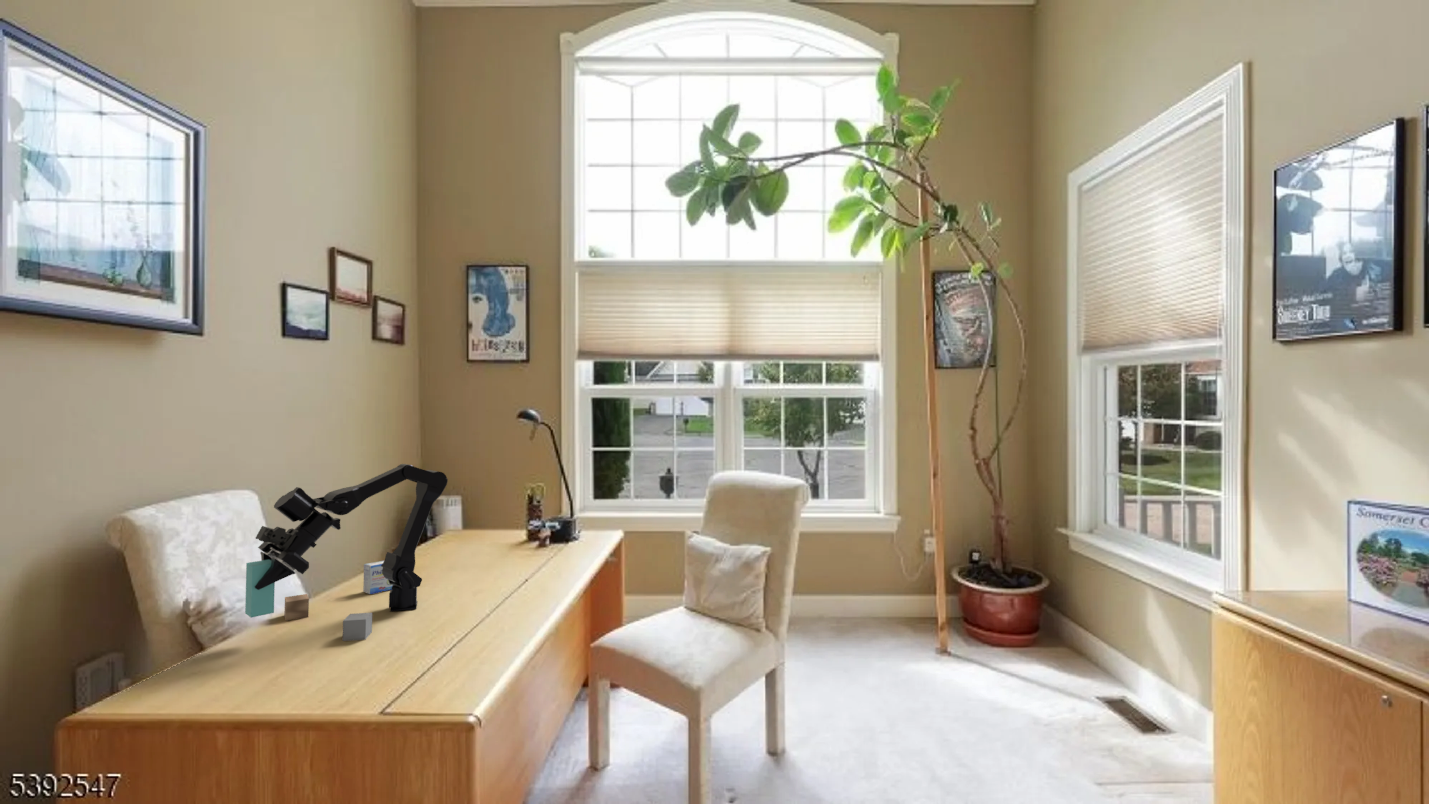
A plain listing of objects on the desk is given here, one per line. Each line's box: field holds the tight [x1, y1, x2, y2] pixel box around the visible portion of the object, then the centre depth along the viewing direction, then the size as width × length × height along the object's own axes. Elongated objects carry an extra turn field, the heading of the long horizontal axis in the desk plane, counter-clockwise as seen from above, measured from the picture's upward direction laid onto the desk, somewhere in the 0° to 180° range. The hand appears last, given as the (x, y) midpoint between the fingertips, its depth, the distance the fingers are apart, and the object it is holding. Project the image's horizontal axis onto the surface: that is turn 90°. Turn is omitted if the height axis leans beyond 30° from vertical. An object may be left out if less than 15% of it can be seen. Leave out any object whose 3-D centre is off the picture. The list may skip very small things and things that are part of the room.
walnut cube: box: [284, 593, 310, 621], centre depth 164 cm, size 5×5×5 cm
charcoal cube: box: [342, 612, 373, 642], centre depth 150 cm, size 5×5×5 cm
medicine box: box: [363, 560, 393, 595], centre depth 187 cm, size 8×4×9 cm, turn 143°
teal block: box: [244, 560, 276, 618], centre depth 146 cm, size 4×4×12 cm
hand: (253, 586), depth 144 cm, fingers closed on teal block, 4 cm apart
